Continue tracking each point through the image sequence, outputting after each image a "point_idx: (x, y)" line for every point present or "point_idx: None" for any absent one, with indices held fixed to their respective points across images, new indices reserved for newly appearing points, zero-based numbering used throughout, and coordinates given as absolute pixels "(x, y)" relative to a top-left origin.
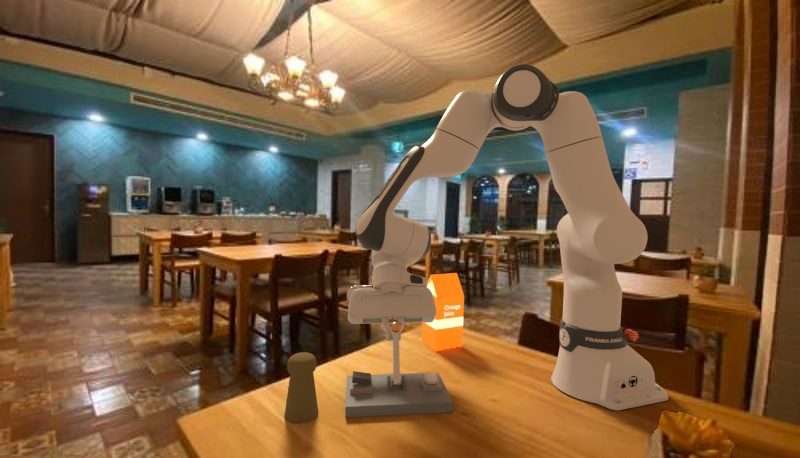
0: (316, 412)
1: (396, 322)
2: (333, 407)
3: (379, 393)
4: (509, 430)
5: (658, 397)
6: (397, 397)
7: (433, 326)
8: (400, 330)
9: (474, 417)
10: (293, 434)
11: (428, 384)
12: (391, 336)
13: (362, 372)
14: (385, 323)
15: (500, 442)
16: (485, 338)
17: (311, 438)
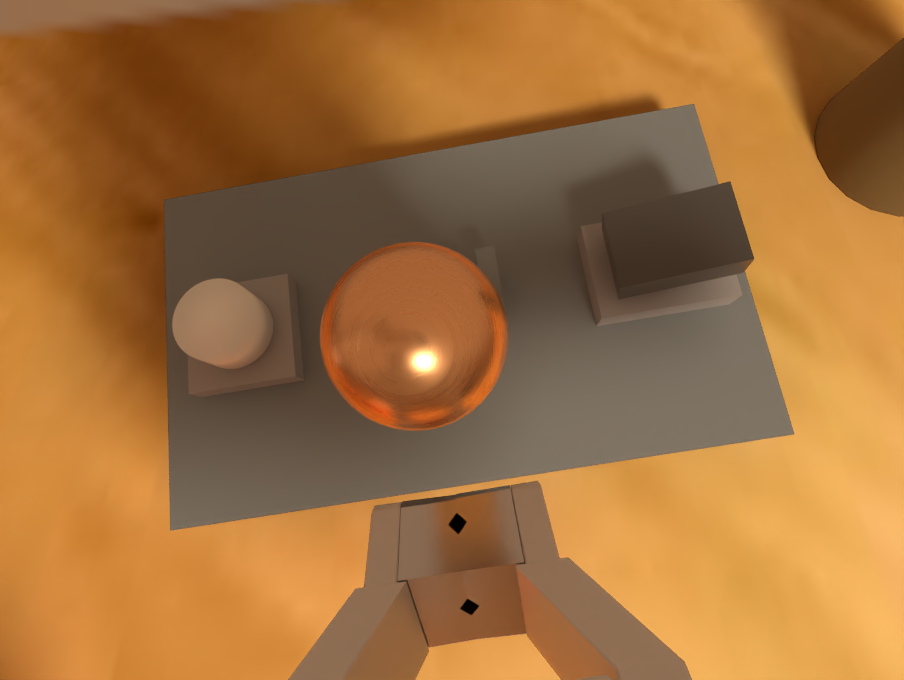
0: (825, 126)
1: (384, 291)
2: (759, 206)
3: (539, 236)
4: (7, 130)
5: None
6: (438, 208)
7: None
8: (362, 591)
9: (110, 197)
10: (857, 15)
11: None
12: (490, 496)
13: (682, 271)
14: (614, 658)
15: (70, 64)
16: None
17: (772, 4)
